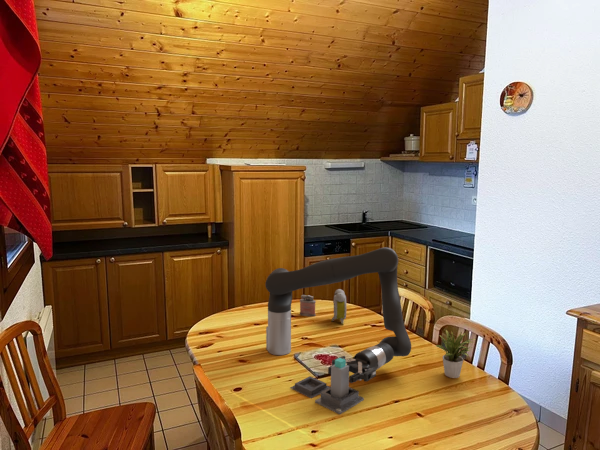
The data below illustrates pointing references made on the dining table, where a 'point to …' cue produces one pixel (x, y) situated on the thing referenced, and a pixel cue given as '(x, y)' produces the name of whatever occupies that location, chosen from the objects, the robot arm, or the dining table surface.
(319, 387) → the grey square tray
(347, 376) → the plug
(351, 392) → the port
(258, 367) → the dining table surface
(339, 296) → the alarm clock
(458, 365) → the house plant
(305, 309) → the lighter
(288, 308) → the robot arm
